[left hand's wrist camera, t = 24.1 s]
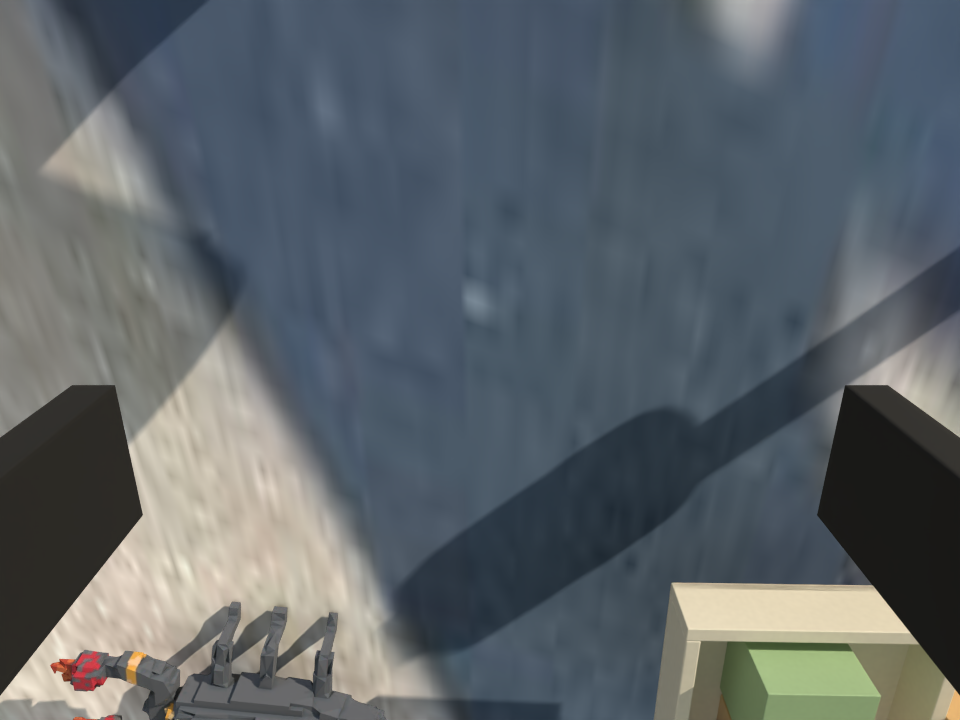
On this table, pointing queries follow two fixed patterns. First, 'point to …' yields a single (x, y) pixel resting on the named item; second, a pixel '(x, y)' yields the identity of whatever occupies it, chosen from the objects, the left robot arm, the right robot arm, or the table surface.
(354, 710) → the toy
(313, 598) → the table surface
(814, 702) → the green block
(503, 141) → the table surface
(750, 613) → the tray
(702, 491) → the table surface
